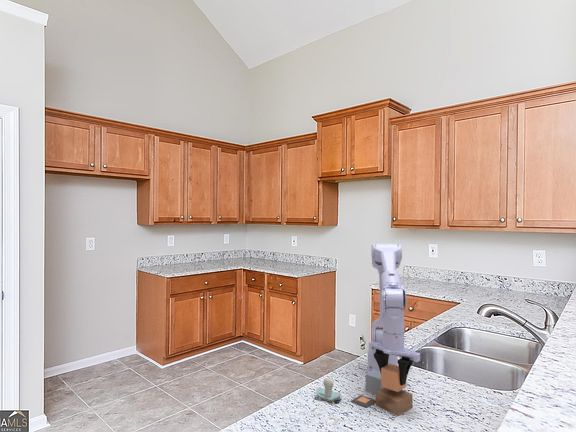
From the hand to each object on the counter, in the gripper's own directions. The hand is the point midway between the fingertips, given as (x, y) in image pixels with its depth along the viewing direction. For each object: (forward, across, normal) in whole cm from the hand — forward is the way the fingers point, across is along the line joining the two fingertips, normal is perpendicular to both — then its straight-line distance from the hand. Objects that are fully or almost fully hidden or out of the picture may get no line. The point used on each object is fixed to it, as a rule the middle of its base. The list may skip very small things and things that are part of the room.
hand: (393, 381), depth 100 cm
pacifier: (+7, -15, -9) cm, 19 cm away
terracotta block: (+2, 0, 0) cm, 2 cm away
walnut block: (+7, 0, 0) cm, 7 cm away
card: (+7, -7, -4) cm, 10 cm away
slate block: (+7, -8, +5) cm, 12 cm away
